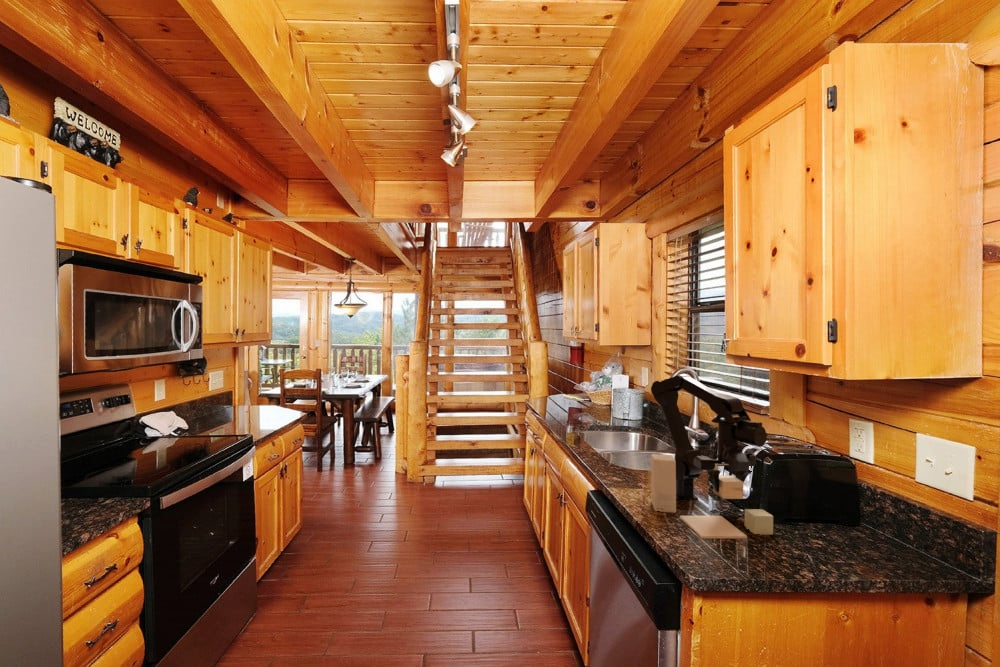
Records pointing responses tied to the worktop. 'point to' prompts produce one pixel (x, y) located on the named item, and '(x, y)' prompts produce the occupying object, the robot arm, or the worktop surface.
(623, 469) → the worktop surface
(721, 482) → the maple block
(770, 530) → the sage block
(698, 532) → the baseplate
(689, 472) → the robot arm
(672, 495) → the skincare box
